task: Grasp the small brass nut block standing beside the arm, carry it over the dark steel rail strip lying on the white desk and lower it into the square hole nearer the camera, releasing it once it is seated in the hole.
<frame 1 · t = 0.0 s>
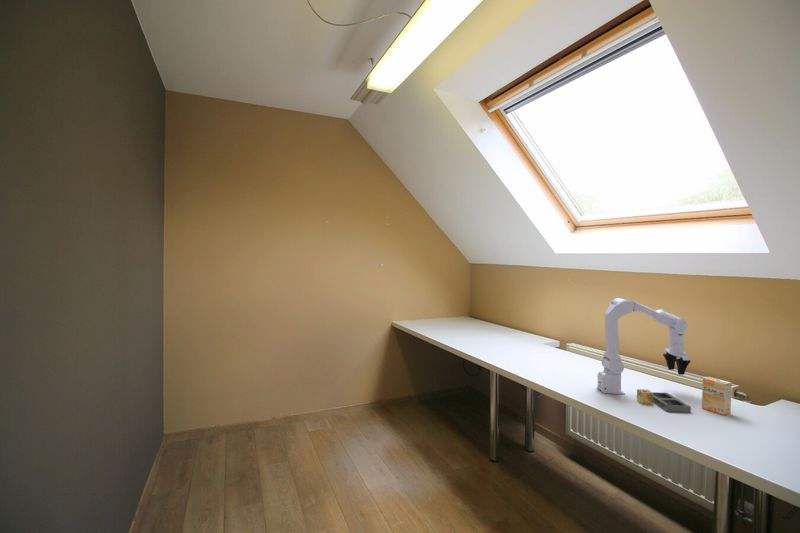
hand: (676, 371, 175), 10 cm above the table, fingers open, 7 cm apart
nut block: (644, 402, 165), on the table
supplement box: (716, 411, 155), on the table
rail: (667, 404, 162), on the table
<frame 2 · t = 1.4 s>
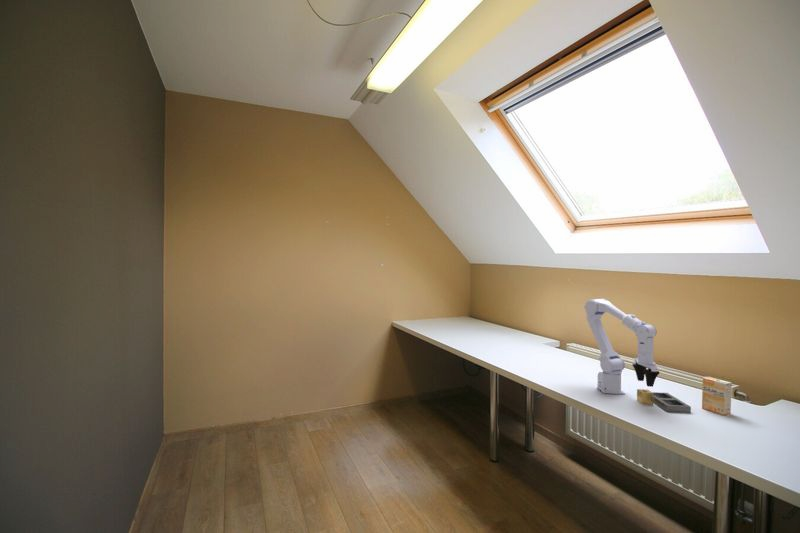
hand: (645, 383, 165), 8 cm above the table, fingers open, 7 cm apart
nothing on the table moved.
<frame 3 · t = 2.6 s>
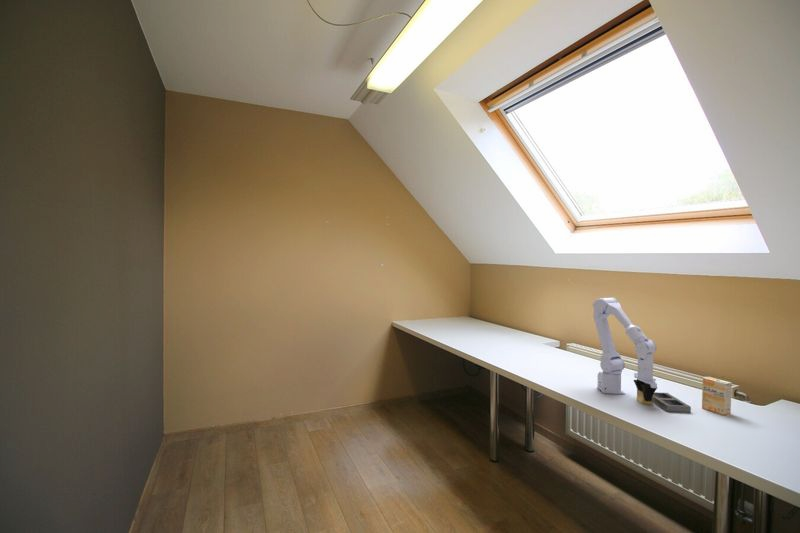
hand: (644, 399, 165), 1 cm above the table, fingers closed on nut block, 4 cm apart
nut block: (644, 402, 165), on the table, touching gripper
everything else where it was.
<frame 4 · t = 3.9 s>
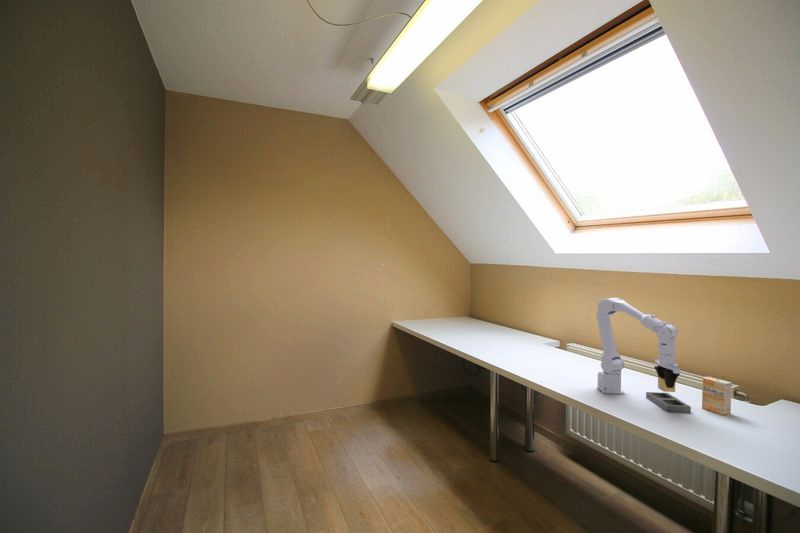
hand: (666, 385, 159), 9 cm above the table, fingers closed on nut block, 4 cm apart
nut block: (666, 390, 159), point 7 cm above the table, touching gripper
everything else where it was.
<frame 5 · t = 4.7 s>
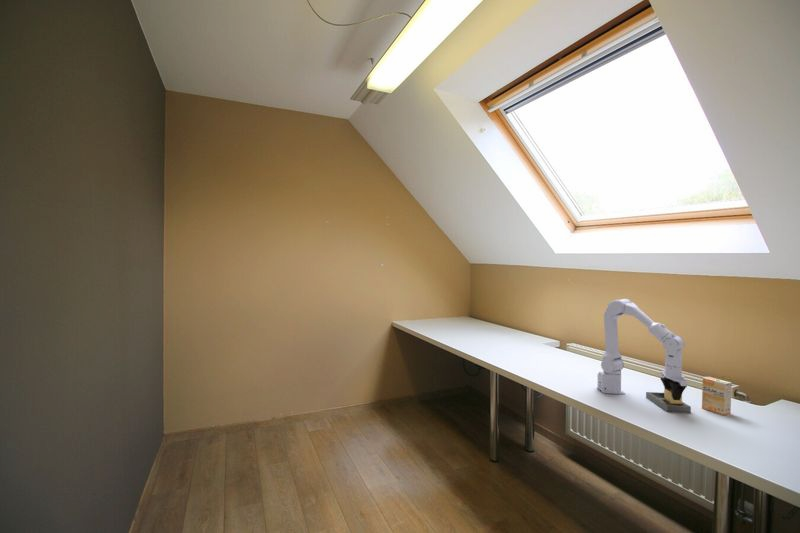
hand: (673, 397, 158), 5 cm above the table, fingers closed on nut block, 4 cm apart
nut block: (672, 402, 158), point 3 cm above the table, touching gripper
everything else where it was.
when the fingers open (3 cm above the table, at t = 5.4 s): nut block drops 1 cm, resting in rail.
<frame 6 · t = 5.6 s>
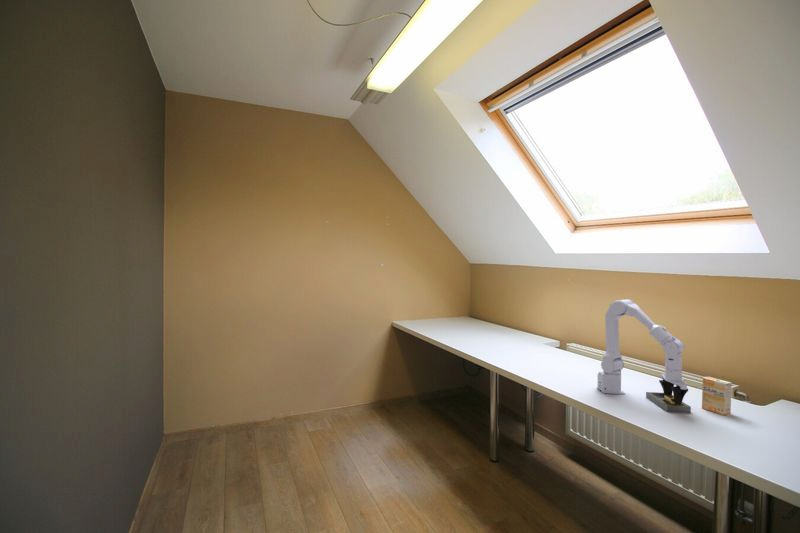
hand: (672, 400, 158), 3 cm above the table, fingers open, 6 cm apart
nut block: (672, 408, 158), resting in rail
everything else where it was.
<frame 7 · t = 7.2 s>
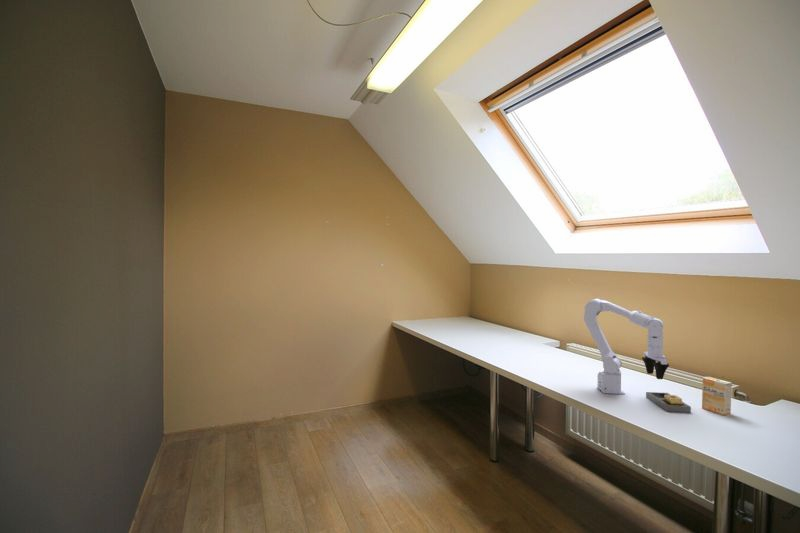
hand: (654, 376, 168), 10 cm above the table, fingers open, 7 cm apart
nothing on the table moved.
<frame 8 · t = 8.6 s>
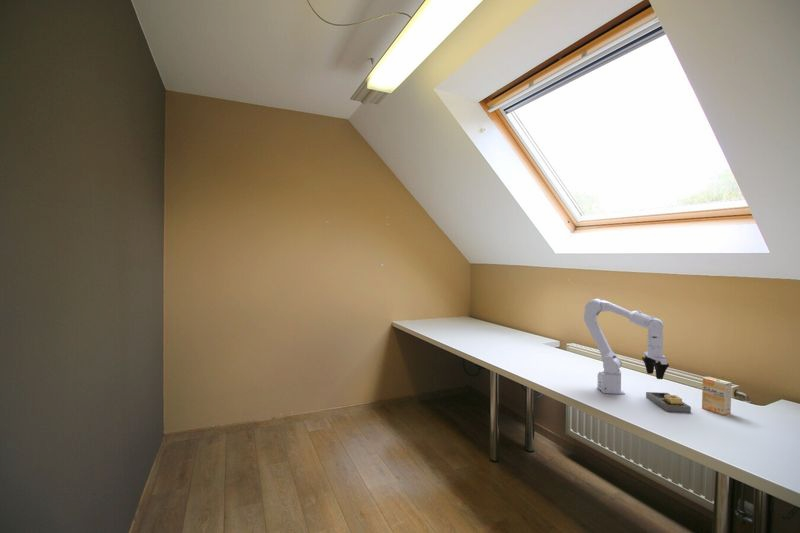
hand: (654, 376, 168), 10 cm above the table, fingers open, 7 cm apart
nothing on the table moved.
at the end: nut block 0.0 cm from the target spot on the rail, point 0.0 cm above the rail's base; nut block tilted 0°; the gripper is holding nothing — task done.
